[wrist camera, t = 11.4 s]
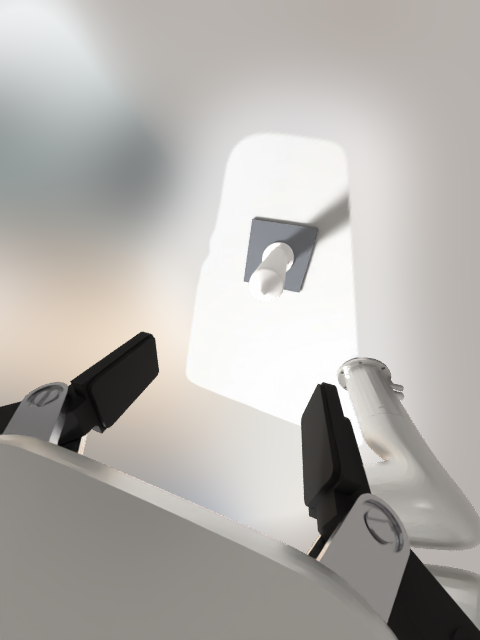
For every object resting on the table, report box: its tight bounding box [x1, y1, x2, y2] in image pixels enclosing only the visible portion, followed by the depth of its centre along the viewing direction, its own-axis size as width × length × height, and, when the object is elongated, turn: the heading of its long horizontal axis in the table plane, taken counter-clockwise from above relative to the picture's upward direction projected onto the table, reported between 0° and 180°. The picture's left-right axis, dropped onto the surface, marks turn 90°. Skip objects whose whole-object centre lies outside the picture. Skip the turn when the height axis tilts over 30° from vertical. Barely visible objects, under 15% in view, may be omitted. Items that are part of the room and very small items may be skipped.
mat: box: [244, 219, 318, 292], centre depth 42 cm, size 14×14×1 cm
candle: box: [249, 242, 294, 302], centre depth 31 cm, size 7×7×25 cm
